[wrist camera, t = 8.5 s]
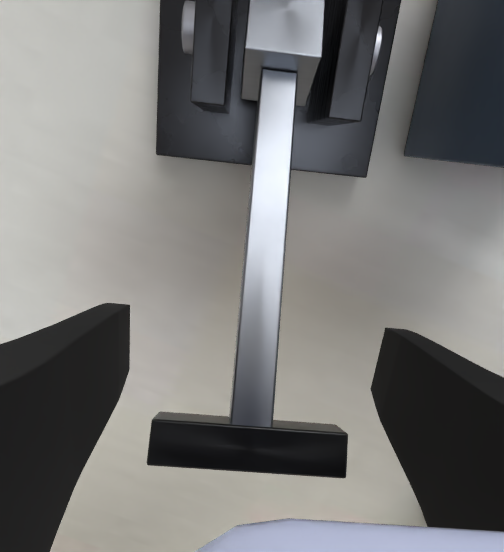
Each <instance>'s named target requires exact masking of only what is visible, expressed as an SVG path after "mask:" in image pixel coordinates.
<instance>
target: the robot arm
mask: <svg viewBox="0 0 504 552" xmlns="http://www.w3.org/2000/svg"><path fill="white" fill-rule="evenodd" d="M129 354H130V305H126V304H115V303H105V304H102V305H99V306H96V307H94V308H91V309H89V310H86V311H84V312H82V313H79V314H77V315H75V316H73V317H70V318H68V319H66V320H63V321H61V322H59V323H56V324H54V325H52V326H49V327H46V328H44V329H41V330H39V331H36V332H34V333H31V334H28V335H26V336H23V337H21V338H18V339H15V340H12V341H9V342H6V343H3V344H0V552H50V549H51V546H52V544H53V541H54V538H55V536H56V533H57V530H58V528H59V525H60V523H61V520H62V518H63V515H64V512H65V510H66V507H67V505H68V502H69V500H70V497H71V495H72V492H73V490H74V487H75V485H76V483H77V481H78V479H79V476H80V474H81V472H82V470H83V468H84V466H85V464H86V462H87V460H88V458H89V457H90V455H91V453H92V451H93V449H94V447H95V445H96V443H97V441H98V439H99V437H100V436H101V434H102V432H103V430H104V428H105V426H106V424H107V422H108V420H109V418H110V416H111V414H112V412H113V410H114V408H115V406H116V404H117V402H118V400H119V398H120V395H121V392H122V390H123V387H124V384H125V381H126V378H127V375H128V372H129ZM371 392H372V395H373V399H374V402H375V406H376V409H377V412H378V415H379V418H380V421H381V423H382V425H383V428H384V430H385V432H386V434H387V436H388V438H389V441H390V443H391V445H392V447H393V449H394V451H395V453H396V455H397V457H398V459H399V462H400V464H401V466H402V468H403V470H404V472H405V474H406V476H407V478H408V480H409V482H410V485H411V487H412V489H413V491H414V493H415V495H416V498H417V500H418V502H419V505H420V507H421V510H422V512H423V515H424V518H425V521H426V524H427V526H428V527H420V526H404V525H387V524H371V523H355V522H339V521H323V520H306V519H290V518H288V519H281V520H273V521H266V522H258V523H251V524H243V525H237V526H235V527H234V528H232V529H230V530H229V531H227V532H226V533H224V534H222V535H221V536H219V537H217V538H216V539H214V540H213V541H211V542H209V543H208V544H206V545H205V546H203V547H201V548H200V549H198V550H196V551H195V552H504V378H503V377H501V376H499V375H497V374H495V373H493V372H491V371H488V370H486V369H484V368H483V367H481V366H479V365H477V364H475V363H473V362H471V361H469V360H467V359H465V358H463V357H461V356H460V355H458V354H456V353H454V352H452V351H450V350H448V349H447V348H445V347H443V346H441V345H439V344H437V343H435V342H433V341H431V340H429V339H427V338H425V337H423V336H421V335H419V334H417V333H415V332H412V331H409V330H405V329H394V328H385V332H384V336H383V340H382V344H381V348H380V352H379V357H378V361H377V365H376V369H375V373H374V377H373V381H372V386H371Z"/></svg>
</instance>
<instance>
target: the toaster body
mask: <svg viewBox="0 0 504 552" xmlns="http://www.w3.org/2000/svg"><path fill="white" fill-rule="evenodd" d="M404 156H408V157H416V158H425V159H433V160H442V161H450V162H459V163H467V164H476V165H484V166H493V167H501V168H504V0H438V4H437V8H436V13H435V17H434V22H433V26H432V31H431V35H430V40H429V44H428V49H427V53H426V58H425V62H424V67H423V71H422V76H421V80H420V85H419V89H418V94H417V98H416V103H415V107H414V112H413V116H412V121H411V125H410V129H409V134H408V138H407V143H406V147H405V152H404Z"/></svg>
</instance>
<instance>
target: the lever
mask: <svg viewBox="0 0 504 552" xmlns="http://www.w3.org/2000/svg"><path fill="white" fill-rule="evenodd" d="M325 4H326V0H249V3H248V13H247V24H246V34H245V44H244V57H243V71H242V85H241V99H246V100H254V101H257V112H256V124H255V135H254V146H253V157H252V168H251V180H250V191H249V202H248V213H247V224H246V235H245V247H244V258H243V269H242V280H241V291H240V303H239V314H238V325H237V336H236V347H235V359H234V370H233V381H232V392H231V403H230V414H229V417H226V416H212V415H199V414H185V413H172V412H159V413H158V414H157V415H156V416H155V417H154V418H153V420H152V423H151V432H150V440H149V448H148V457H147V465H152V466H167V467H182V468H197V469H212V470H227V471H242V472H257V473H272V474H287V475H302V476H317V477H332V478H346V467H347V444H348V434H347V433H346V432H345V431H343V430H342V429H341V428H339V427H338V426H337V425H333V424H320V423H306V422H293V421H279V420H273V414H274V400H275V386H276V372H277V358H278V344H279V330H280V317H281V303H282V289H283V275H284V261H285V247H286V233H287V219H288V206H289V192H290V178H291V164H292V150H293V136H294V122H295V108H296V106H305V105H306V102H307V100H308V97H309V94H310V91H311V88H312V85H313V82H314V79H315V77H316V74H317V71H318V68H319V65H320V62H321V59H322V53H323V36H324V20H325Z"/></svg>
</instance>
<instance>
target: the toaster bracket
mask: <svg viewBox="0 0 504 552" xmlns="http://www.w3.org/2000/svg"><path fill="white" fill-rule="evenodd" d="M248 3H249V0H160V29H159V65H158V102H157V138H156V154H157V155H163V156H172V157H181V158H190V159H199V160H208V161H217V162H226V163H236V164H245V165H252V157H253V146H254V135H255V124H256V112H257V101H254V100H246V99H241V85H242V71H243V57H244V44H245V34H246V24H247V13H248ZM400 3H401V0H326V4H325V20H324V36H323V53H322V59H321V62H320V65H319V68H318V71H317V74H316V77H315V79H314V82H313V85H312V88H311V91H310V94H309V97H308V100H307V102H306V105H305V106H296V108H295V122H294V136H293V150H292V164H291V170H299V171H308V172H317V173H326V174H335V175H345V176H354V177H363V178H366V176H367V171H368V166H369V161H370V156H371V151H372V146H373V141H374V136H375V131H376V125H377V120H378V115H379V110H380V105H381V100H382V95H383V90H384V85H385V80H386V75H387V70H388V64H389V59H390V54H391V49H392V44H393V39H394V34H395V29H396V24H397V19H398V14H399V9H400Z"/></svg>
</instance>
